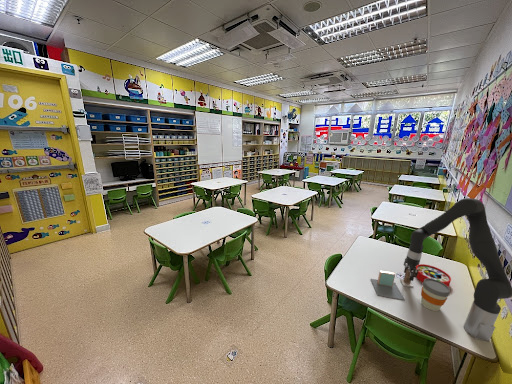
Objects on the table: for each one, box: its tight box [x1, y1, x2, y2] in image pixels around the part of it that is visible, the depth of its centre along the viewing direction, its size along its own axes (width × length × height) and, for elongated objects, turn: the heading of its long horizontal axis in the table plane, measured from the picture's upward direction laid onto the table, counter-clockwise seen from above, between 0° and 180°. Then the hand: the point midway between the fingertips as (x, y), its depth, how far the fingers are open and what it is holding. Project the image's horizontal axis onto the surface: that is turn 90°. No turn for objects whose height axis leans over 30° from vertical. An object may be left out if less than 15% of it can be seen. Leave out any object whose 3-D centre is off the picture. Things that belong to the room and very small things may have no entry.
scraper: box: [399, 268, 414, 288], centre depth 145 cm, size 6×6×11 cm
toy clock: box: [416, 263, 452, 288], centre depth 151 cm, size 20×6×20 cm
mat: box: [370, 278, 406, 301], centre depth 140 cm, size 16×16×1 cm
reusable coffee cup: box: [420, 278, 451, 312], centre depth 126 cm, size 13×13×15 cm
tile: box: [377, 270, 396, 287], centre depth 143 cm, size 2×9×10 cm, turn 76°
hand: (408, 276), depth 145 cm, fingers open, 7 cm apart
